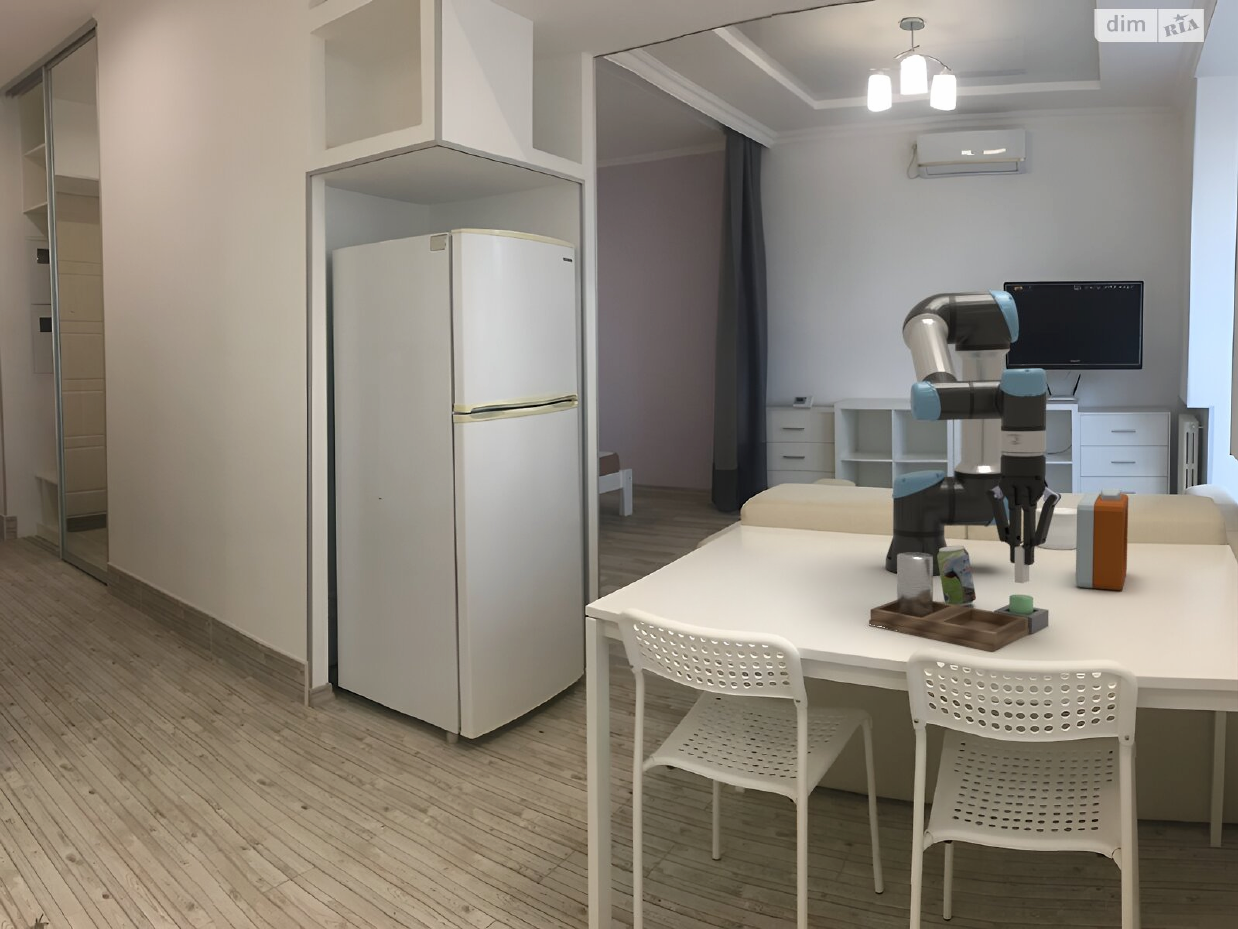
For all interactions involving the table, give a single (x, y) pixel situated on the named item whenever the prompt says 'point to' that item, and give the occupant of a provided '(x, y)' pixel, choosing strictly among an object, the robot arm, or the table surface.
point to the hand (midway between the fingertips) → (1021, 581)
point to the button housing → (1030, 618)
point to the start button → (1021, 604)
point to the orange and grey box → (1102, 540)
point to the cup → (1061, 529)
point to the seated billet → (915, 584)
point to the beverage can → (956, 575)
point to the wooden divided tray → (955, 625)
